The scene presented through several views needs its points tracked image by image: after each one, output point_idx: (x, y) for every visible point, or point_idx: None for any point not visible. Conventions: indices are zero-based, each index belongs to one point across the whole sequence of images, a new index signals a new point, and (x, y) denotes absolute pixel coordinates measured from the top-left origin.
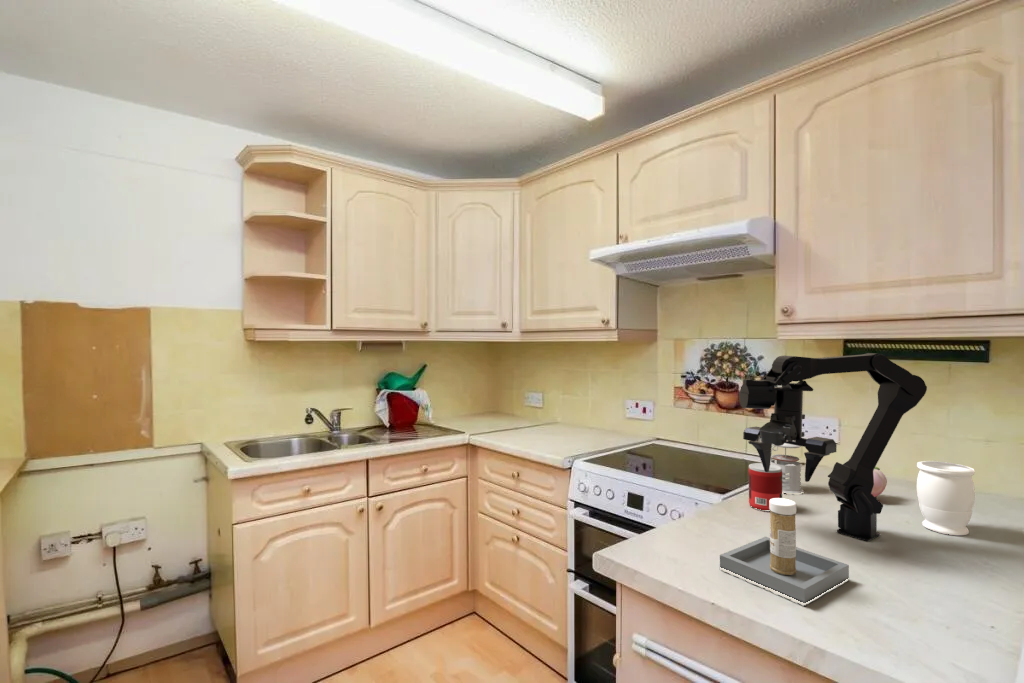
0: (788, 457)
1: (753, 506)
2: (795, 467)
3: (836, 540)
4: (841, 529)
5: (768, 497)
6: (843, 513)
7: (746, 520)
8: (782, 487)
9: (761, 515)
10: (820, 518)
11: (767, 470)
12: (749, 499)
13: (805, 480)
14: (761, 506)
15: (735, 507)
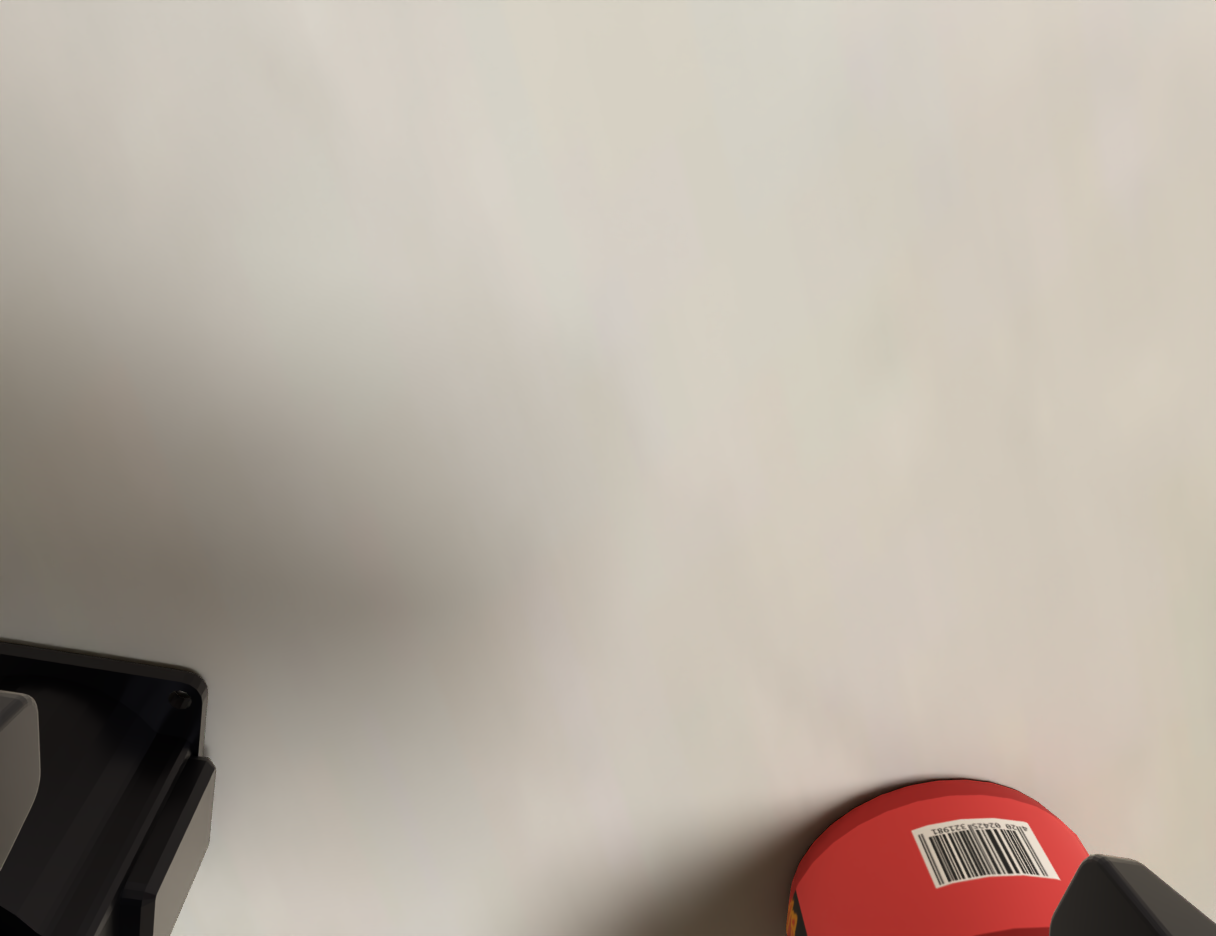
0: None
1: (1030, 802)
2: None
3: (125, 476)
4: (175, 733)
5: (922, 912)
6: (86, 862)
7: (1022, 422)
8: None
9: (914, 666)
10: (449, 919)
11: (1088, 912)
12: None
13: (8, 703)
14: (955, 806)
15: (1189, 715)
